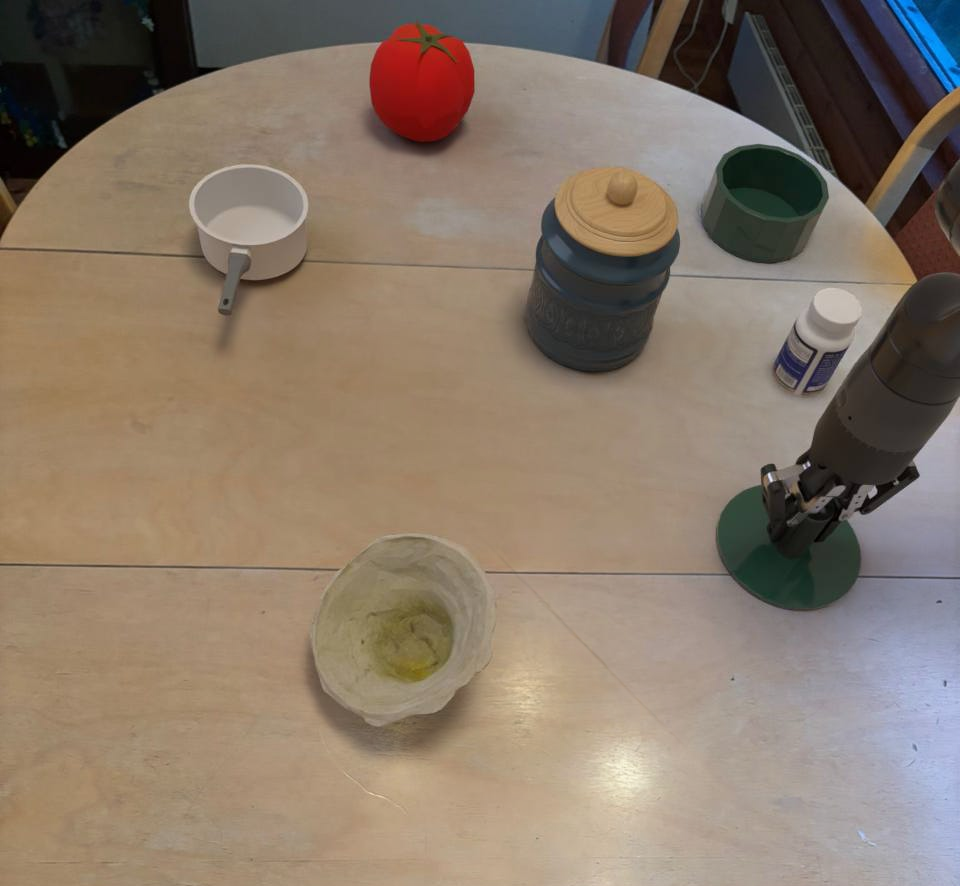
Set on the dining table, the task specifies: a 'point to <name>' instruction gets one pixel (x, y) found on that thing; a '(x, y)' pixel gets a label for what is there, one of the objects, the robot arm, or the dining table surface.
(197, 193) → the saucepan
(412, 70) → the tomato
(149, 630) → the dining table surface
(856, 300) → the pill bottle
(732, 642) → the dining table surface
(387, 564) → the bowl
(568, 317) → the canister
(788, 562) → the lid
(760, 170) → the pot
